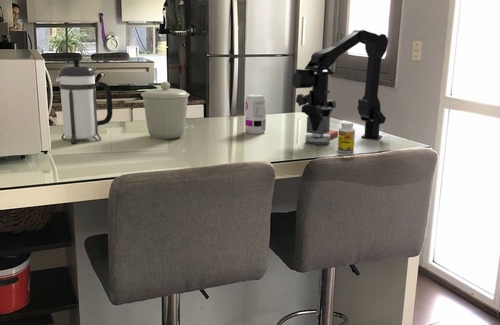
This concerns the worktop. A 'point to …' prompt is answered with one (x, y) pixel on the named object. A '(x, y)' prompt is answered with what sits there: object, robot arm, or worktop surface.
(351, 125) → the supplement bottle
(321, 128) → the brushed grey cube
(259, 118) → the supplement can
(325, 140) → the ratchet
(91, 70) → the coffee press
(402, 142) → the worktop surface
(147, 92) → the canister
